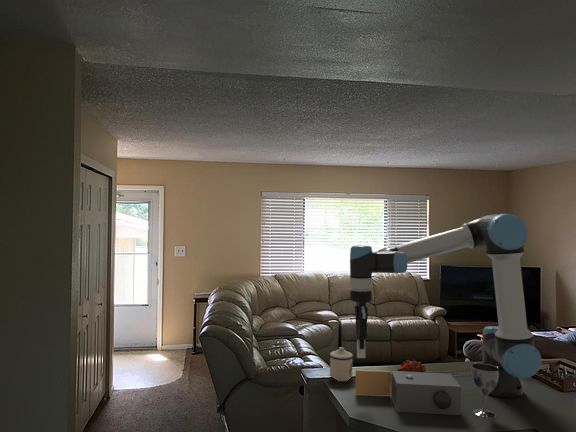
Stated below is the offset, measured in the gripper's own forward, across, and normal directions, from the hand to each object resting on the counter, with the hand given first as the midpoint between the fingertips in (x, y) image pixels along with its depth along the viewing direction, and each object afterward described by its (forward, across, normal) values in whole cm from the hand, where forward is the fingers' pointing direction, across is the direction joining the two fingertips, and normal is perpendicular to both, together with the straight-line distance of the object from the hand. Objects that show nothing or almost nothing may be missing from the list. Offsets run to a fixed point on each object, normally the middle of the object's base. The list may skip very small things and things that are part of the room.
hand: (361, 357), depth 152 cm
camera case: (+14, -7, -20) cm, 25 cm away
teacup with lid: (+14, +19, +5) cm, 24 cm away
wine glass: (+15, -12, -37) cm, 42 cm away
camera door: (+13, +1, -4) cm, 14 cm away
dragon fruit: (+14, +16, -22) cm, 31 cm away
